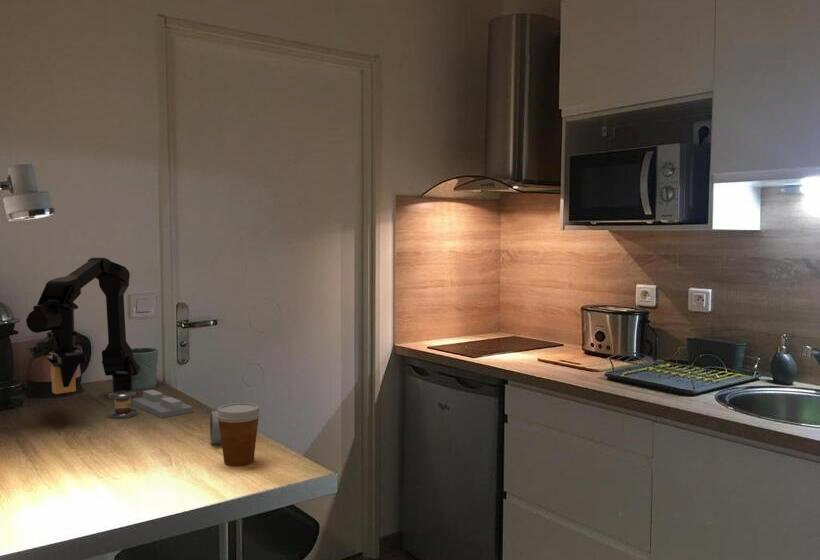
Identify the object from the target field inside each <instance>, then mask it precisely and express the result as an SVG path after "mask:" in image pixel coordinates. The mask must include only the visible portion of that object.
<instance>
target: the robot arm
mask: <svg viewBox="0 0 820 560" xmlns="http://www.w3.org/2000/svg"><path fill="white" fill-rule="evenodd" d="M130 277H131V276H130V271H129V269H127V267H126V266H124V265H122V264H119V263H116V262H114V261H111V260H109V259H108V258H106V257H91V258H89V259H88V260H87V261H86V262H85V263H83V264H82V265H81V266H79V267H78V268H76V269H75V270H73V271H72V272H70V273H69V274H67V275H65V276H60V277H55V278H53V279H51V280H49V281H47V282H46V284H45V285H44V288H43V290H42V293H41V295H40V297H39V299H38V302H37V304H36V305H34V306H33V310H32V311H30V312H29V313H28V315H27V318H26V321H25V323H26V326H27V328H28V329H29V331H31V332H32V333H34V334H39V333H44V332H47V333H46V337H45V338H42V339H39V340H37V341H34V342H32V343H30V344H27V345H26V346H25V348H26V351H27V353H28V355H29V357H30V358H31V359H33V360H38V359H39V358H41V357H46V356H48V358H46V359H45V360H46V361H47V362H49V363H50V364H52V366H56V365H57V366H58V367H59V368H60V372H61V377H62V382H63V386H64V387H68V386H69V384H70V382H71V380H72V377H73V375H74V373H75V374H76V371H77V369H78V367H79V365H80V364H82V363H87V362H88V359H87V356H88V355H87V354H86V353H85V352H84V351H82V350H80V349H78V346H76V344H75V342H76V340H75V339H76V338H75V337H76V336H77V335H78V331H76V330H75V310H78V308H79V306H78V305H77V304H76V303H75V301H76V300H77V299H78V298H79V296H81V294H82V288H83V287H85V286H86V285H88V284H89V283H91V282H92V281H93V280H94V279H96V280H98V284H99V285H98V286H99V289H100V290H101V291H102V293H103V295H104V296H105V305H106V319H107V320H106V321H107V322H106V323H107V339H108V341H107V342H108V343H107V345H106V347H105V348H104V349H103V350H101V358H102V359H101V360H102V361H101V364H102V368H103V372H104V375H105V376H111V377H112V381H111V382H112V383H111V385H112V386H111V387H112V391H109V392H108V395H109V393H111V392H115V391H124V390H130V391H134V389H133V385H132V376H135V375H138V374H139V369H140V367H139V365H138V364H137V362H136V361H135V359H134V358H133V353H132V347H130V345H129V343H128V342H127V337H126V335H127V334H126V333H127V332H126V315H125V298H124V295H125V293H126V291H127V290H128V288H129V286H130ZM137 394H138V392H136V395H137Z"/></svg>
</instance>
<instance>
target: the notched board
mask: <svg viewBox="0 0 820 560" xmlns="http://www.w3.org/2000/svg"><path fill="white" fill-rule="evenodd" d="M142 395H143V397H138V398H133V399H132V401H131V402H132V404H131V405H133V406H134V407H137V408H139V409H141V410H144V411H146V412H149V413H150V414H152V415H154V416H157V417H159V418H161V419H163V418H168V417H174V416H179V415H185V414H190V413H194V407H193V406H192V405H189V404H186V403H184V402H183V401H182V400H180V399H178V398H175V397H172V396H167V395H165V394H164V393H163V392H161V391H157V390H156V389H148V390H143V391H142Z"/></svg>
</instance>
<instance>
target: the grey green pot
mask: <svg viewBox="0 0 820 560" xmlns="http://www.w3.org/2000/svg"><path fill="white" fill-rule="evenodd" d="M131 349H132V353H133V358H134V359H135V361H136V362H137V364H138V365H139V367H140V369H139V374H138V375H135V376H132V385H133V390H147V389H148V390H150V389H153V388H156V387H157V380H158V379H157V377H158V376H157V371H158V363H159V361H158V359H159V358H158V357H159V349H158V348H157V347H134V348H132V347H131Z"/></svg>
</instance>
